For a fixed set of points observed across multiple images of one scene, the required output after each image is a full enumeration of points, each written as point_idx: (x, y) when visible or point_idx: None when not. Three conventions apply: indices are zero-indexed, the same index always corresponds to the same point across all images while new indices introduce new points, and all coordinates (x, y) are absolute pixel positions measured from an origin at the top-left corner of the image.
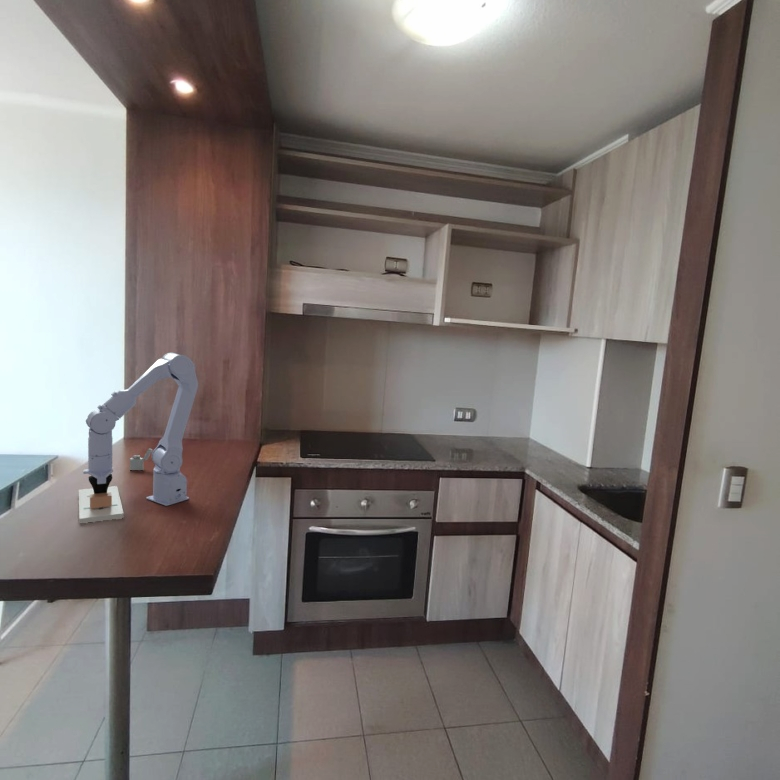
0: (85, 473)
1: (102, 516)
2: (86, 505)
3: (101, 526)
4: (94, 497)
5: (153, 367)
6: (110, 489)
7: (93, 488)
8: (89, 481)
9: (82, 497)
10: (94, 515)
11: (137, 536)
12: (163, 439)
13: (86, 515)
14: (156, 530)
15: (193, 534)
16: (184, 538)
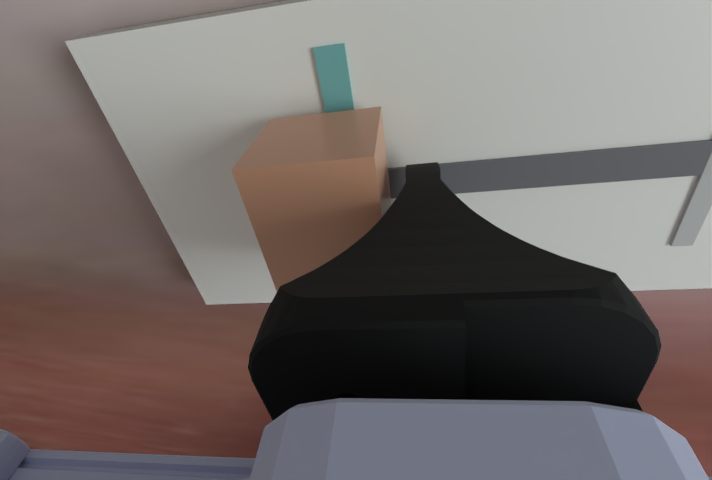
0: (258, 457)
1: (154, 203)
2: (425, 63)
3: (91, 182)
4: (247, 208)
5: None
6: None
7: (361, 240)
8: (282, 297)
9: None
10: (157, 154)
11: (9, 317)
12: None
13: (150, 94)
14: (88, 368)
15: (77, 431)
16: (39, 413)
